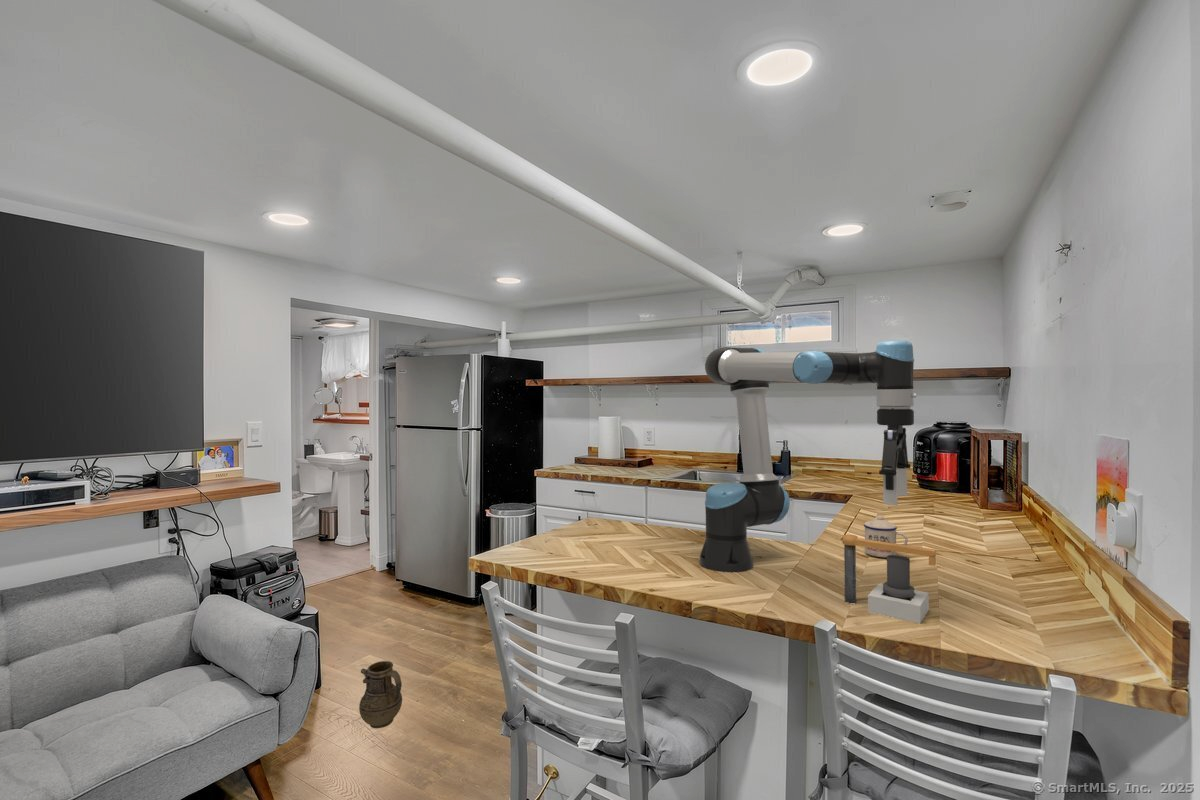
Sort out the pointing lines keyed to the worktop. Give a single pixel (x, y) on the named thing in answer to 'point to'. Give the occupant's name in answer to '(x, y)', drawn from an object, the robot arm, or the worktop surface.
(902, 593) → the plug
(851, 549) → the clip post
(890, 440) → the robot arm
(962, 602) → the worktop surface
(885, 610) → the socket block
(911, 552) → the clip
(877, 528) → the teacup with lid
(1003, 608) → the worktop surface
